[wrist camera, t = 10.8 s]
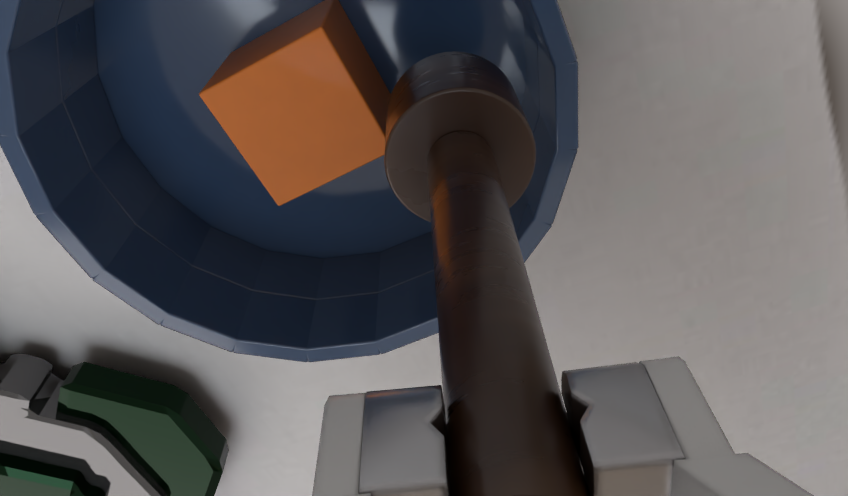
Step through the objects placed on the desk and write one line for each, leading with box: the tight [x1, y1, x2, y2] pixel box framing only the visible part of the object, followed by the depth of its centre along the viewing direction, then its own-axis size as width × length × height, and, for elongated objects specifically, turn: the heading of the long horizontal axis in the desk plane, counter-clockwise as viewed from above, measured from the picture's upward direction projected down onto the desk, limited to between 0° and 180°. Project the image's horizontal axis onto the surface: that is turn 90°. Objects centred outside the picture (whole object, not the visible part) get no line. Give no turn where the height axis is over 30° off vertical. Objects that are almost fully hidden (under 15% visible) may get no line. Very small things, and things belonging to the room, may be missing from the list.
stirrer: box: [384, 51, 589, 496], centre depth 12 cm, size 4×4×15 cm
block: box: [199, 0, 391, 206], centre depth 21 cm, size 4×4×4 cm
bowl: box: [0, 0, 578, 362], centre depth 20 cm, size 15×15×6 cm
